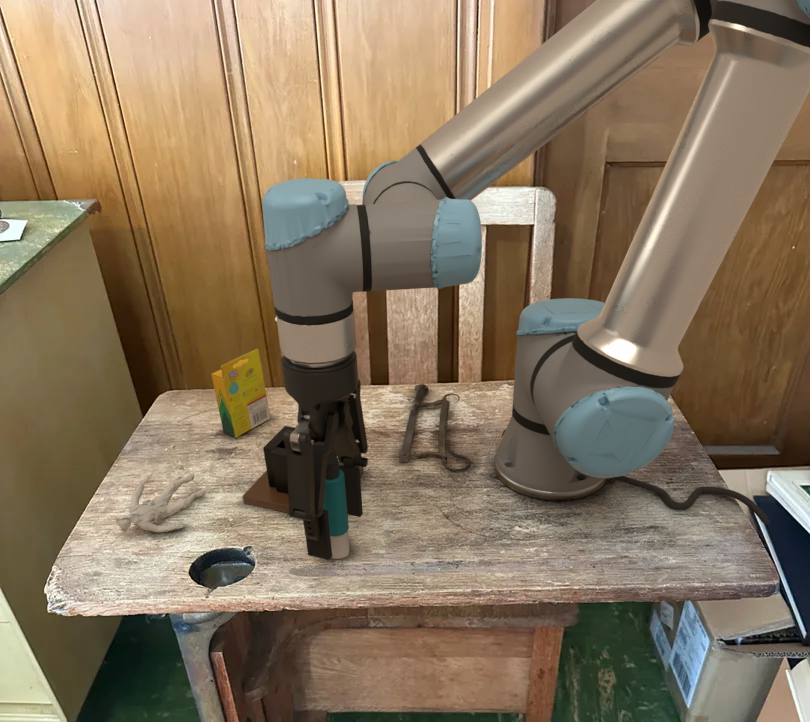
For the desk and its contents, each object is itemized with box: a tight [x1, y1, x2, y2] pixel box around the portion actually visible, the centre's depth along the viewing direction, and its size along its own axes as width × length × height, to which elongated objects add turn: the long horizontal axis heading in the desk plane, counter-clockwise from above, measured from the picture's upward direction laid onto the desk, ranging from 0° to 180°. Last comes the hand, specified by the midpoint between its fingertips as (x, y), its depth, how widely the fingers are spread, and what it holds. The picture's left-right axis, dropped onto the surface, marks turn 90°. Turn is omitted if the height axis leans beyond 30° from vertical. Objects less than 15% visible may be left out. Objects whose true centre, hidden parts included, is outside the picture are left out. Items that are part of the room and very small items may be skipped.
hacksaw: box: [398, 383, 472, 473], centre depth 113 cm, size 24×10×2 cm, turn 173°
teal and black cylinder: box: [323, 455, 351, 560], centre depth 87 cm, size 3×3×13 cm
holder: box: [242, 424, 365, 514], centre depth 100 cm, size 12×12×7 cm
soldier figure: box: [114, 472, 206, 535], centre depth 96 cm, size 8×5×12 cm
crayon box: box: [210, 348, 271, 439], centre depth 112 cm, size 7×3×12 cm, turn 141°
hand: (336, 533), depth 89 cm, fingers open, 8 cm apart
